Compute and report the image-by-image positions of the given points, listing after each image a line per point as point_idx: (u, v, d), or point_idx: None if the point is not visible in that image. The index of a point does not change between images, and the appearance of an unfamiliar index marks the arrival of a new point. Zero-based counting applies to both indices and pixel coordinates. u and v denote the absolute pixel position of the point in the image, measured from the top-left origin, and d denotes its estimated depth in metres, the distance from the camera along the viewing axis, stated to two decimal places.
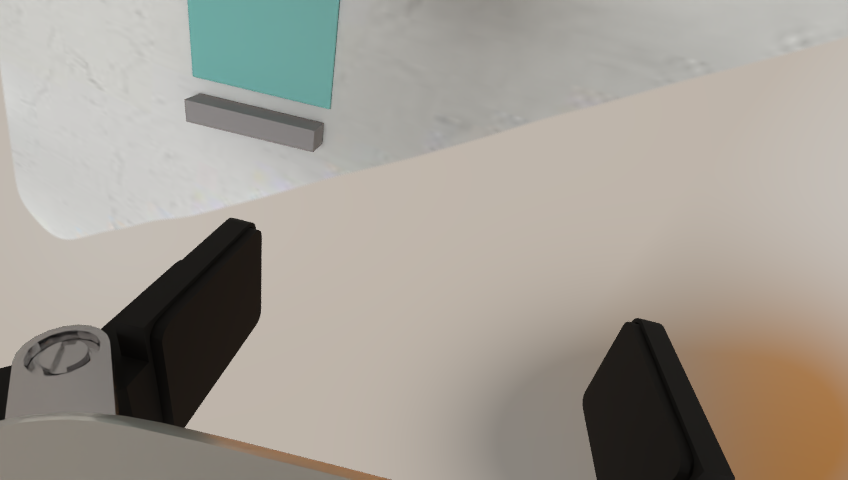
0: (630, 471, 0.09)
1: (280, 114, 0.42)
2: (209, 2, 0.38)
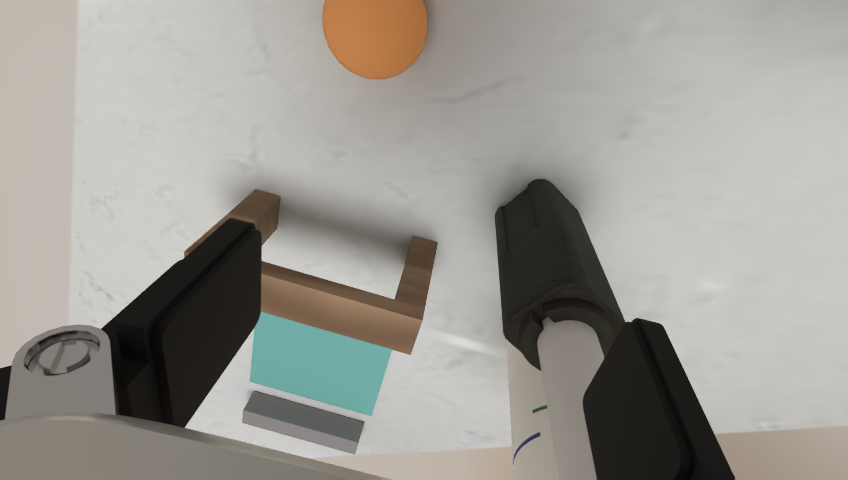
0: (631, 471, 0.09)
1: (326, 414, 0.47)
2: (273, 341, 0.43)
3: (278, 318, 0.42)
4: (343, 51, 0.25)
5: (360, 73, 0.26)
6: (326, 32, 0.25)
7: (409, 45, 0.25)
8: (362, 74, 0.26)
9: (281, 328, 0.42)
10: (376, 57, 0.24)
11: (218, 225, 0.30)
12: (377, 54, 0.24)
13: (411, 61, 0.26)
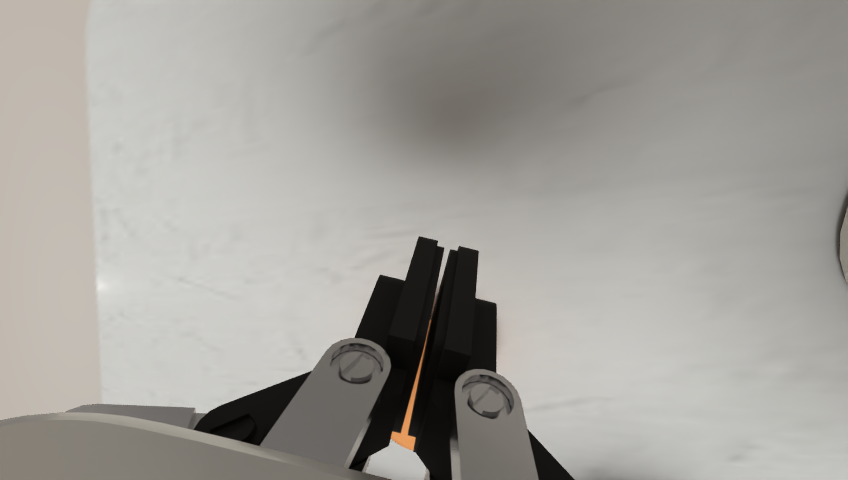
0: (423, 370, 0.10)
1: None
2: None
3: None
4: (394, 440, 0.20)
5: None
6: None
7: None
8: None
9: None
10: None
11: None
12: None
13: None
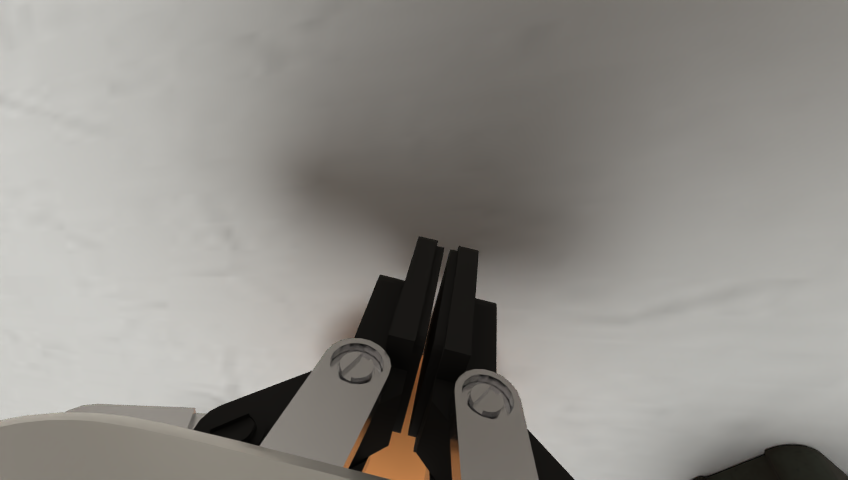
0: (424, 370, 0.10)
1: None
2: None
3: None
4: None
5: None
6: None
7: None
8: None
9: None
10: None
11: None
12: None
13: None
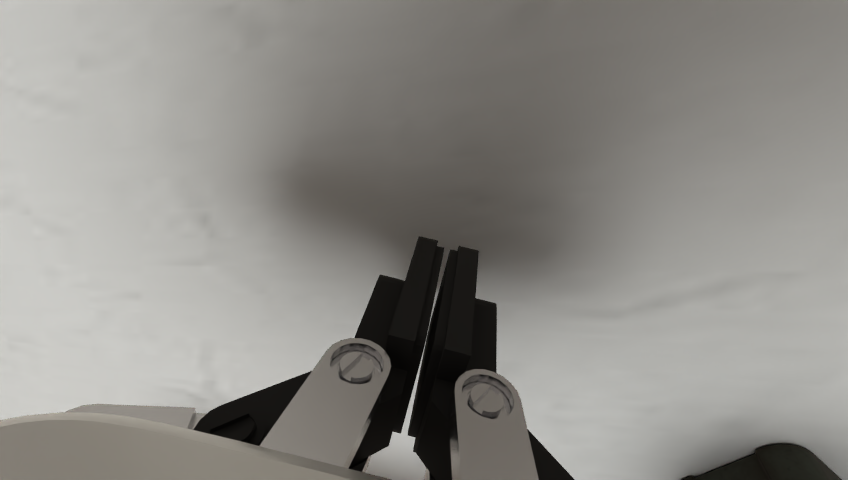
0: (424, 370, 0.10)
1: None
2: None
3: None
4: None
5: None
6: None
7: None
8: None
9: None
10: None
11: None
12: None
13: None
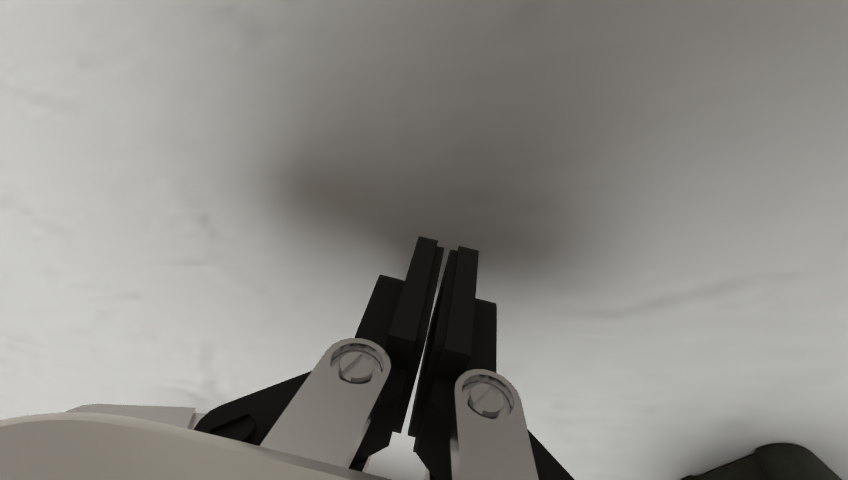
0: (424, 370, 0.10)
1: None
2: None
3: None
4: None
5: None
6: None
7: None
8: None
9: None
10: None
11: None
12: None
13: None
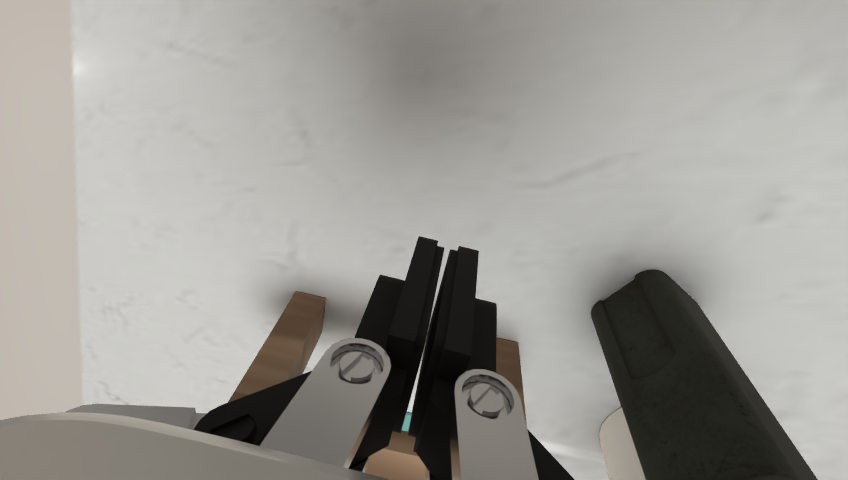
0: (423, 370, 0.10)
1: None
2: None
3: None
4: None
5: None
6: None
7: None
8: None
9: None
10: None
11: (259, 357, 0.24)
12: None
13: None
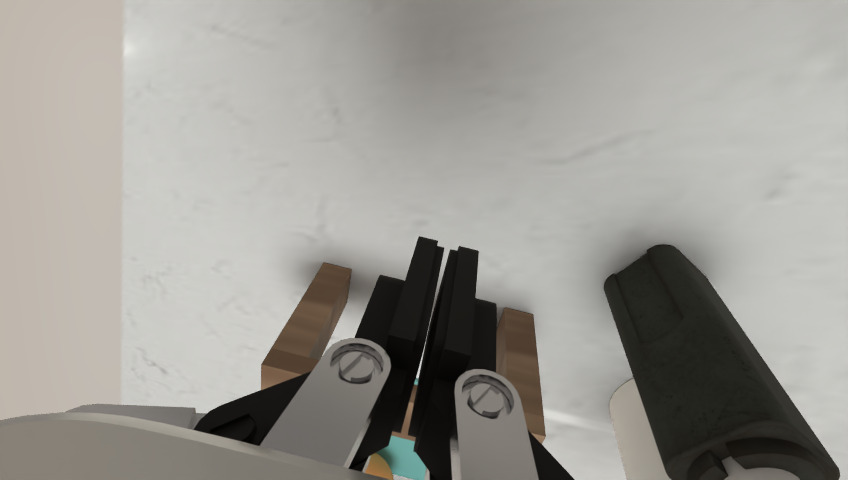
0: (424, 370, 0.10)
1: None
2: None
3: None
4: None
5: None
6: None
7: None
8: None
9: None
10: None
11: (292, 319, 0.26)
12: None
13: None
